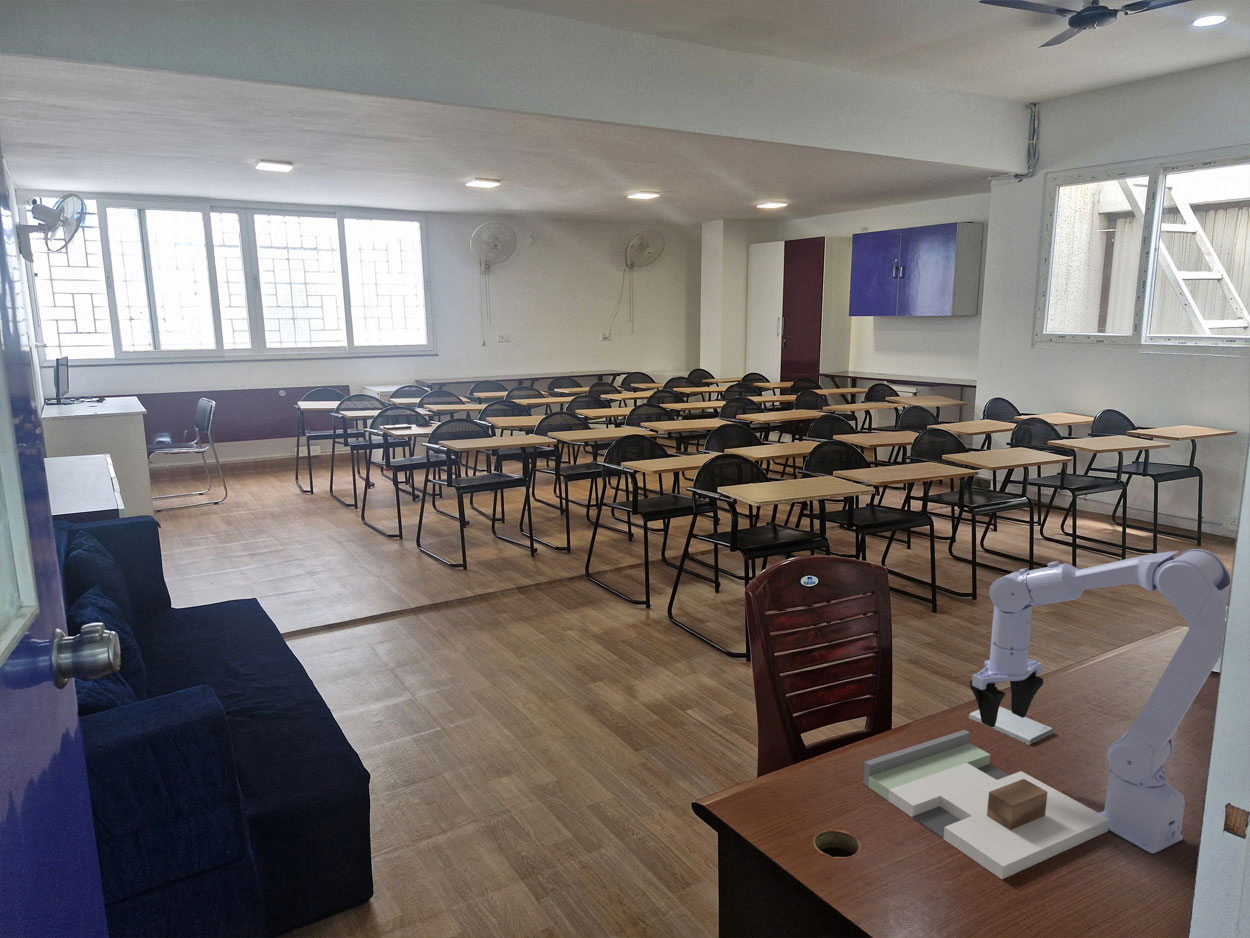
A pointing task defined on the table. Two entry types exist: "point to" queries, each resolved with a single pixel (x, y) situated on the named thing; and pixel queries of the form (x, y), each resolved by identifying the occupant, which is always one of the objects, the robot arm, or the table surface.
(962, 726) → the table surface
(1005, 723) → the hard drive
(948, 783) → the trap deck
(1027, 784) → the walnut bar
